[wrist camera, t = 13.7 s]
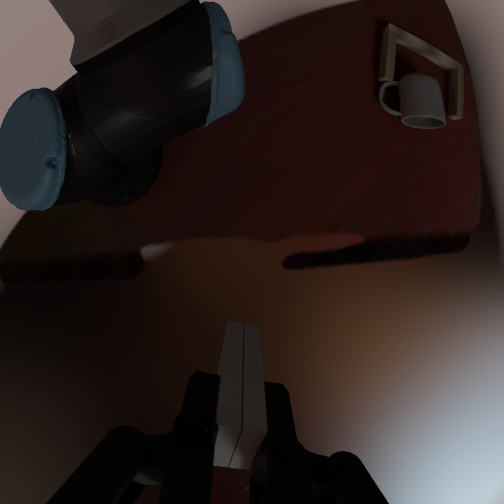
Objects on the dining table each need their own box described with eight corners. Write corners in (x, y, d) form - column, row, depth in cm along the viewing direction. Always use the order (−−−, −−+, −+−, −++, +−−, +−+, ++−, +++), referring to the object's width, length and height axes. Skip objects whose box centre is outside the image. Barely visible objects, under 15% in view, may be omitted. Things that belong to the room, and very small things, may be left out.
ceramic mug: (424, 88, 35) (448, 77, 28) (428, 131, 37) (454, 125, 30) (373, 76, 35) (392, 60, 28) (377, 121, 37) (399, 111, 30)
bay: (377, 81, 35) (385, 75, 33) (382, 30, 33) (389, 23, 30) (453, 119, 36) (462, 118, 34) (454, 69, 34) (462, 66, 31)
